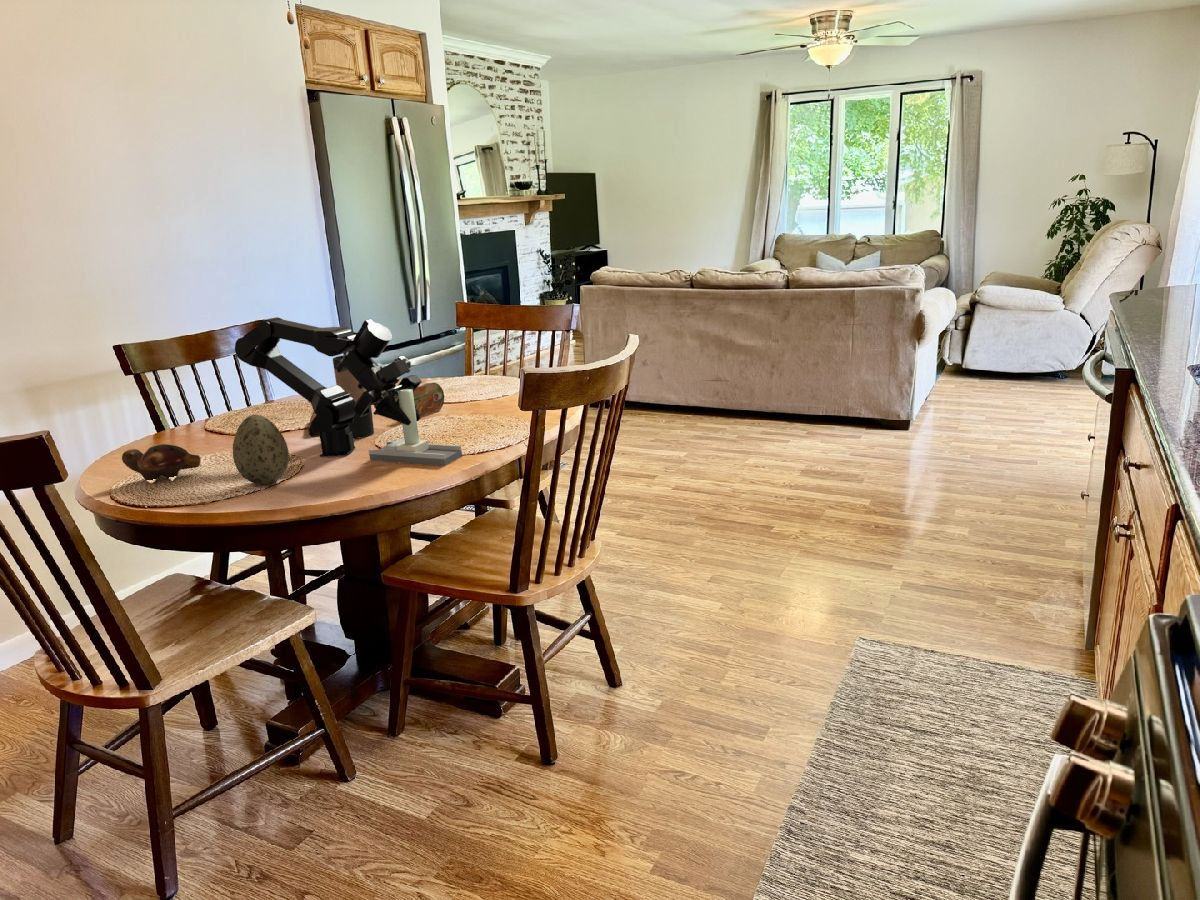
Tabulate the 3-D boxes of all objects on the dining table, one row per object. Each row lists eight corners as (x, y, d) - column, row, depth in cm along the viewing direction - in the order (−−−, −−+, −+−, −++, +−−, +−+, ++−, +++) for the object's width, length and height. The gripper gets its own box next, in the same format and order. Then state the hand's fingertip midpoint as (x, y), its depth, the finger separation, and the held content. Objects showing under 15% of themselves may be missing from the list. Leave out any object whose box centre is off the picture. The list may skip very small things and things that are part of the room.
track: (370, 460, 187) (367, 445, 186) (388, 451, 193) (386, 437, 192) (445, 465, 179) (443, 450, 178) (462, 456, 185) (460, 441, 184)
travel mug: (346, 440, 205) (334, 361, 199) (342, 433, 212) (330, 356, 206) (377, 435, 208) (366, 357, 202) (372, 429, 215) (361, 352, 209)
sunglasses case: (344, 432, 213) (326, 412, 210) (321, 449, 212) (304, 429, 210) (343, 417, 229) (327, 398, 227) (323, 432, 229) (306, 414, 226)
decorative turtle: (125, 480, 183) (120, 445, 182) (200, 471, 191) (196, 437, 189) (125, 490, 175) (120, 453, 173) (204, 479, 182) (199, 444, 181)
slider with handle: (397, 454, 184) (388, 393, 180) (410, 447, 189) (402, 387, 185) (415, 455, 182) (407, 393, 178) (429, 448, 187) (421, 388, 183)
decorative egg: (255, 476, 181) (242, 409, 176) (302, 474, 179) (290, 407, 175) (229, 492, 170) (215, 422, 166) (278, 491, 169) (265, 420, 165)
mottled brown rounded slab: (408, 422, 219) (404, 391, 217) (399, 421, 221) (395, 390, 219) (446, 409, 231) (443, 379, 229) (438, 408, 233) (434, 379, 231)
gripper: (357, 354, 172) (407, 408, 171) (409, 339, 189) (456, 388, 188) (332, 390, 178) (382, 442, 176) (385, 373, 194) (431, 420, 193)
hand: (414, 421), depth 183 cm, fingers closed on slider with handle, 3 cm apart
